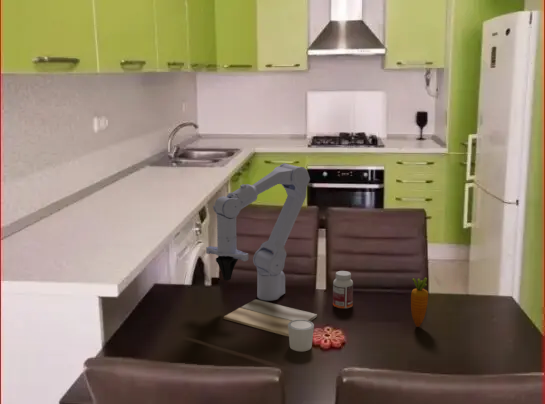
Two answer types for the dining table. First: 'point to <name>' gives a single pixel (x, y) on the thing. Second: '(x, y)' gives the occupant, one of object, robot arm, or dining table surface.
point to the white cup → (300, 335)
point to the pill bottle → (343, 290)
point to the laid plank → (278, 311)
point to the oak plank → (259, 321)
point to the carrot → (419, 301)
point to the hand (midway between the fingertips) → (227, 279)
